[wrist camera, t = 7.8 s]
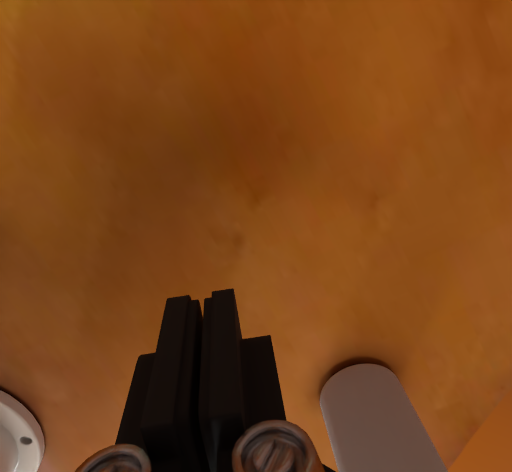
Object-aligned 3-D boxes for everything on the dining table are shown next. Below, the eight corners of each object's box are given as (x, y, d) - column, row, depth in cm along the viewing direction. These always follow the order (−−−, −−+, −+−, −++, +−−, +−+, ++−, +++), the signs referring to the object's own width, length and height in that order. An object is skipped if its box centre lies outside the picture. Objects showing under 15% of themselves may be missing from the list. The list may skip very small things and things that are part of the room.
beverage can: (305, 375, 32) (348, 545, 21) (384, 344, 31) (471, 503, 20) (333, 428, 35) (384, 603, 24) (406, 400, 34) (494, 567, 23)
